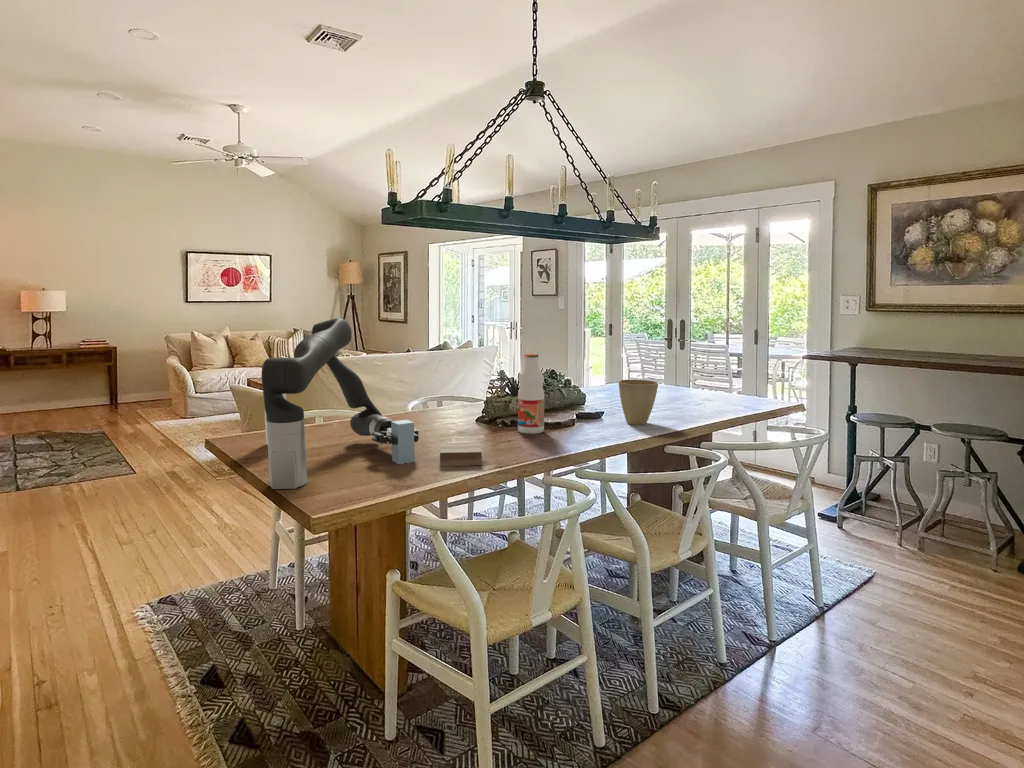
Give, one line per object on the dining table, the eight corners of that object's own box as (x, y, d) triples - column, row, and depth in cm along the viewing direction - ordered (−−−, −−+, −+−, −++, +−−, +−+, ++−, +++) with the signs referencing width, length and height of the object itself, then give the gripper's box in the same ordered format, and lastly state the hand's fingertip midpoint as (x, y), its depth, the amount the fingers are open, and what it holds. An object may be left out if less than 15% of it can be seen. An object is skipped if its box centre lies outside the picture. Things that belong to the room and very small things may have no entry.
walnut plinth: (481, 465, 192) (481, 452, 191) (440, 466, 191) (439, 452, 191) (480, 455, 204) (480, 442, 203) (441, 455, 203) (441, 443, 202)
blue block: (398, 464, 193) (397, 424, 191) (392, 461, 197) (391, 421, 195) (414, 462, 195) (413, 422, 194) (407, 458, 200) (407, 419, 198)
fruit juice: (548, 432, 236) (549, 354, 232) (525, 435, 232) (526, 355, 228) (535, 427, 244) (536, 352, 240) (513, 430, 240) (513, 353, 236)
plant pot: (641, 429, 242) (642, 385, 240) (609, 422, 253) (610, 381, 251) (664, 423, 252) (666, 382, 250) (633, 417, 263) (634, 378, 261)
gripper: (362, 420, 203) (382, 430, 189) (405, 415, 210) (428, 424, 196) (363, 444, 204) (383, 455, 190) (406, 438, 212) (429, 449, 197)
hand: (406, 440), depth 193 cm, fingers open, 6 cm apart
